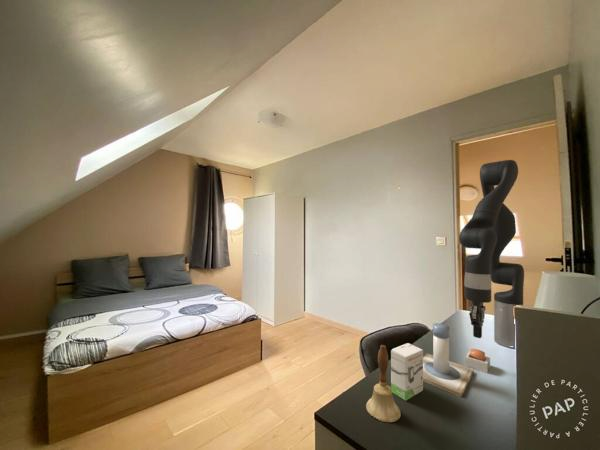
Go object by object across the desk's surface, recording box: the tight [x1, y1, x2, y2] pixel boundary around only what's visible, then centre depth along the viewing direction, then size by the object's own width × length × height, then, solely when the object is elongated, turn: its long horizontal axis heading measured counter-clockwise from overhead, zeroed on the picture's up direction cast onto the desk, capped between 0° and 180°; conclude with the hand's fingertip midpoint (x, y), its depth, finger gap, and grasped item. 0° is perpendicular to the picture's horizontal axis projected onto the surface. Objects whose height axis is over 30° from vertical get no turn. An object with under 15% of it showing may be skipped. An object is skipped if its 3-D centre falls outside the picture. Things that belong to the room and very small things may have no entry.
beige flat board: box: [423, 353, 474, 398], centre depth 78 cm, size 17×14×1 cm
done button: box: [469, 348, 486, 360], centre depth 83 cm, size 4×4×2 cm
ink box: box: [390, 342, 424, 402], centre depth 69 cm, size 9×5×12 cm, turn 123°
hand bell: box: [365, 344, 402, 423], centre depth 62 cm, size 8×8×16 cm
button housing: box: [464, 350, 491, 374], centre depth 83 cm, size 6×6×3 cm
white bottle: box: [432, 322, 450, 374], centre depth 78 cm, size 5×5×14 cm
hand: (477, 336), depth 83 cm, fingers closed
